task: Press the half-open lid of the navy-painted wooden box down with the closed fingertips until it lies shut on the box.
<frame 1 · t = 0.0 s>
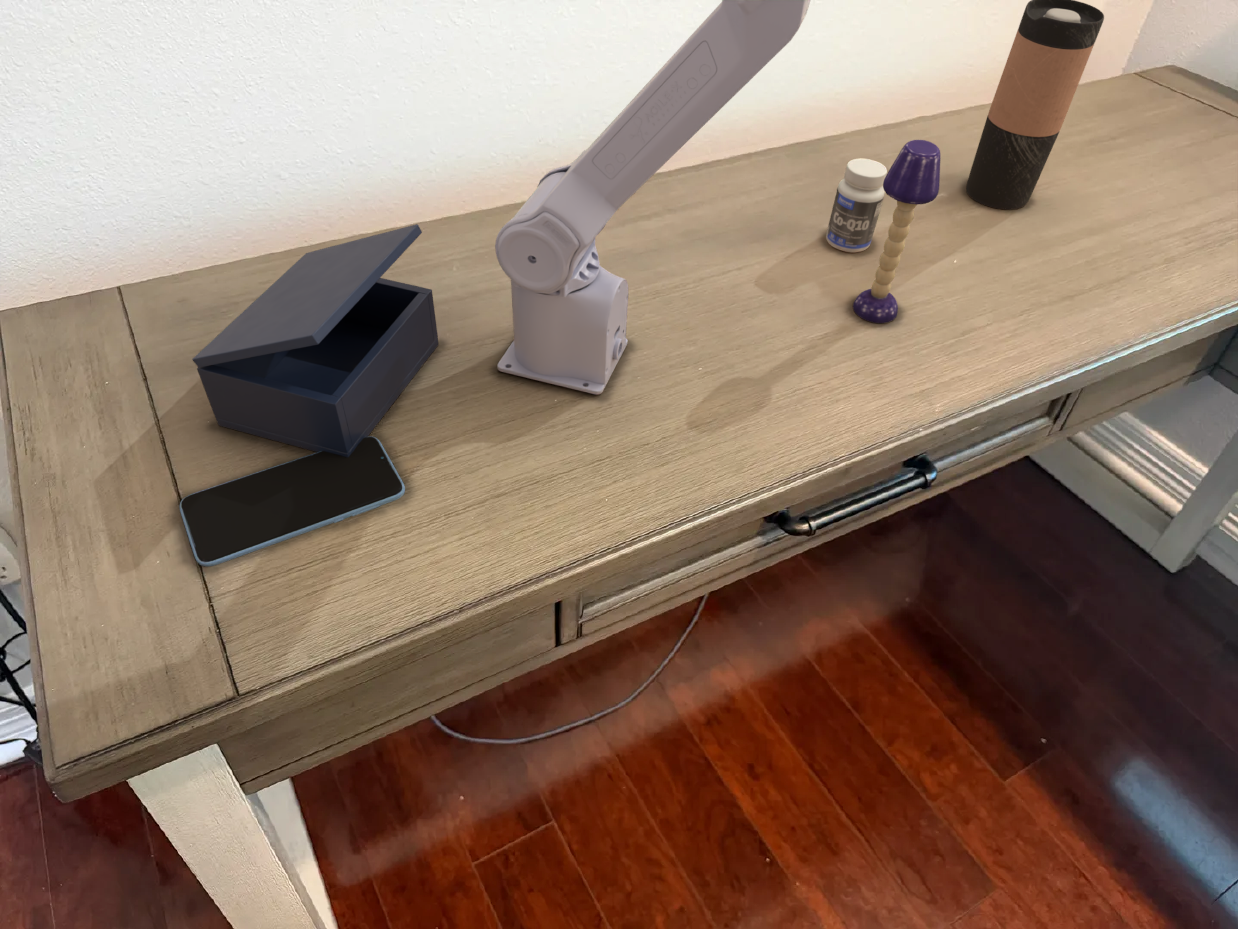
toy lamp: (872, 313, 85), on the table
travel mug: (996, 195, 103), on the table
smartphone: (296, 503, 66), on the table
lid: (311, 293, 68), point 9 cm above the table, hinge at 25.0°
pill bottle: (847, 243, 94), on the table
box: (334, 382, 75), on the table
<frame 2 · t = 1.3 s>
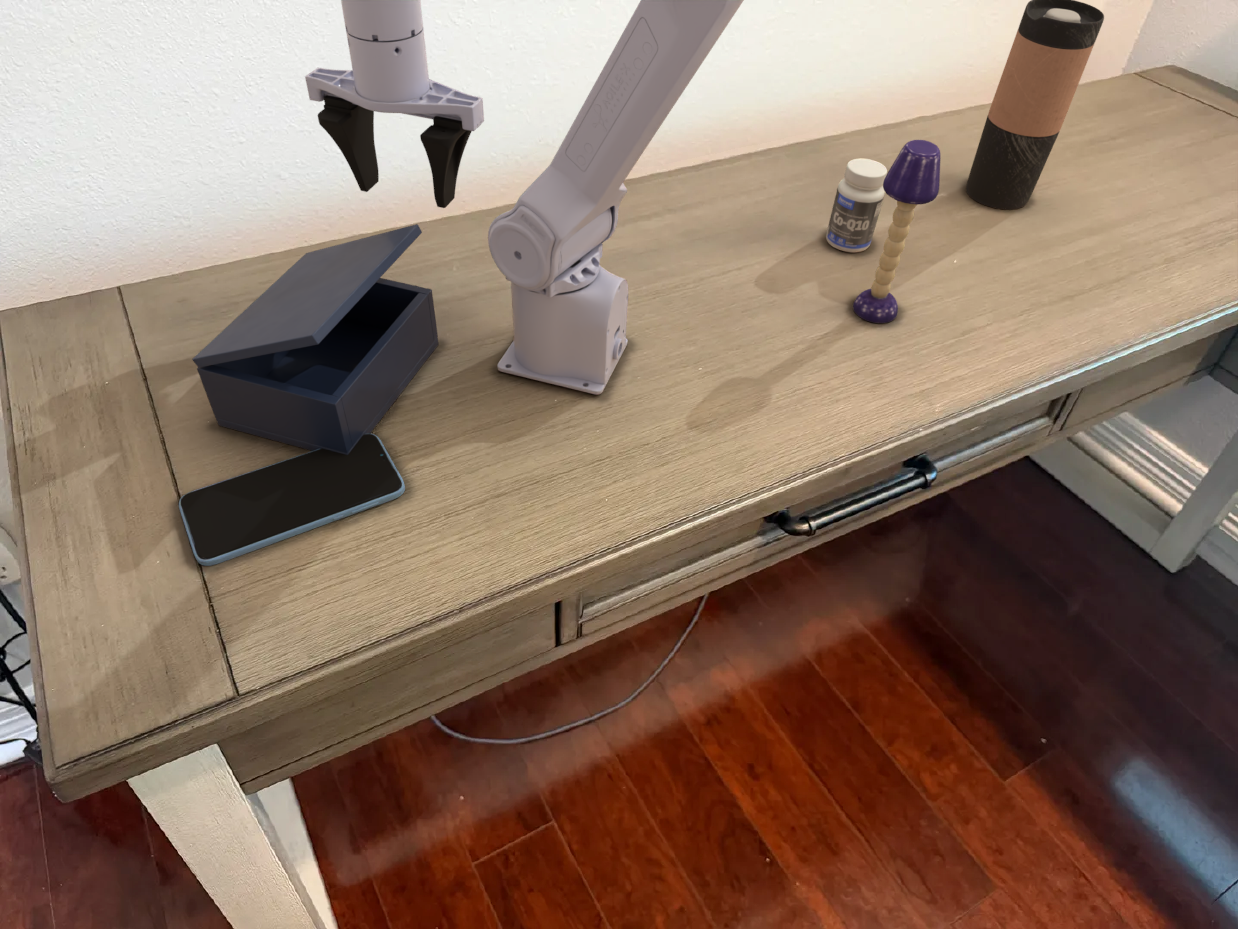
hand: (407, 194, 77), 10 cm above the table, tool pointing down, fingers open, 7 cm apart
smartphone: (295, 500, 66), on the table, touching box
everything else where it was.
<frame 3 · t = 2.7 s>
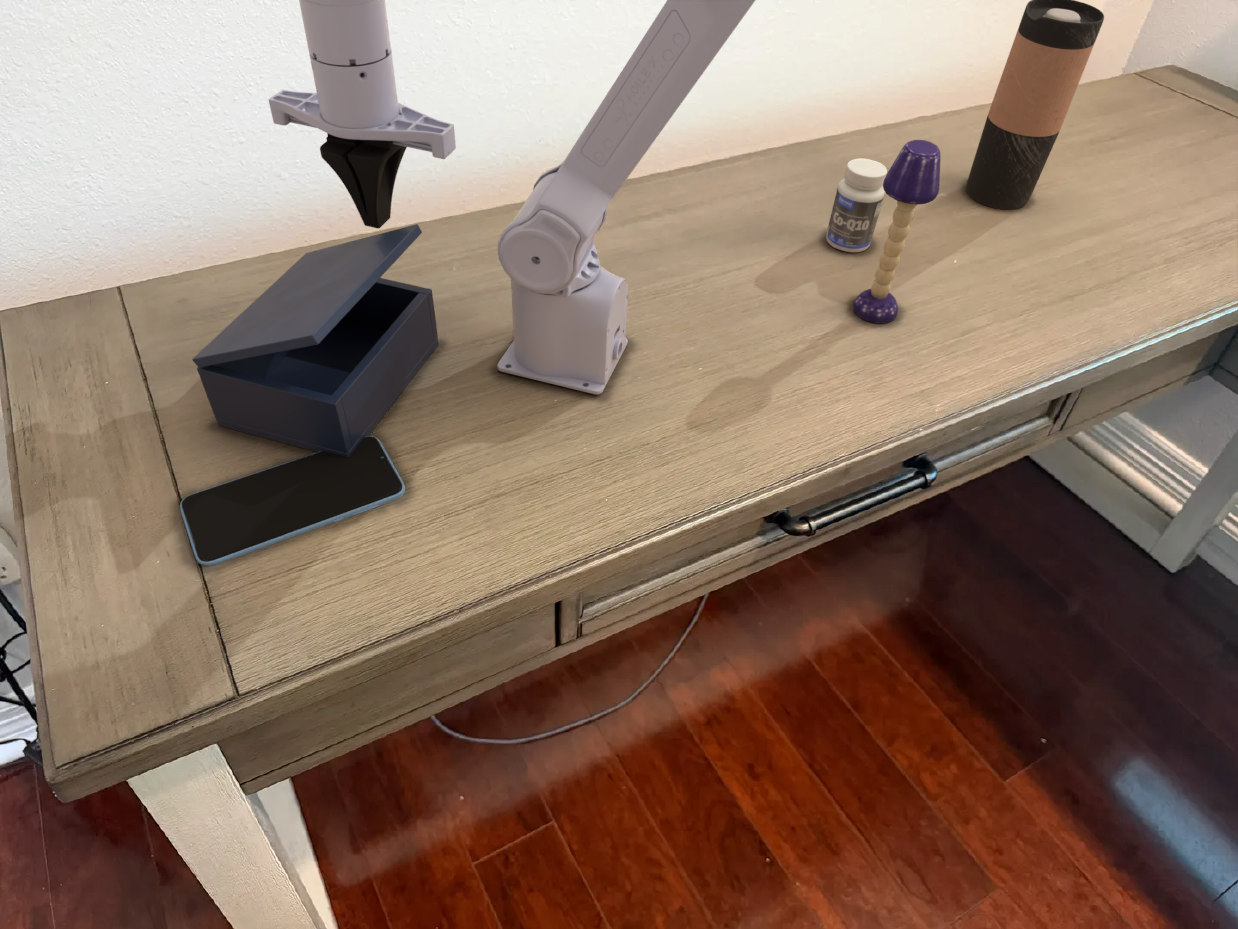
hand: (377, 221, 73), 10 cm above the table, tool pointing down, fingers closed
smartphone: (296, 503, 66), on the table
everything else where it was.
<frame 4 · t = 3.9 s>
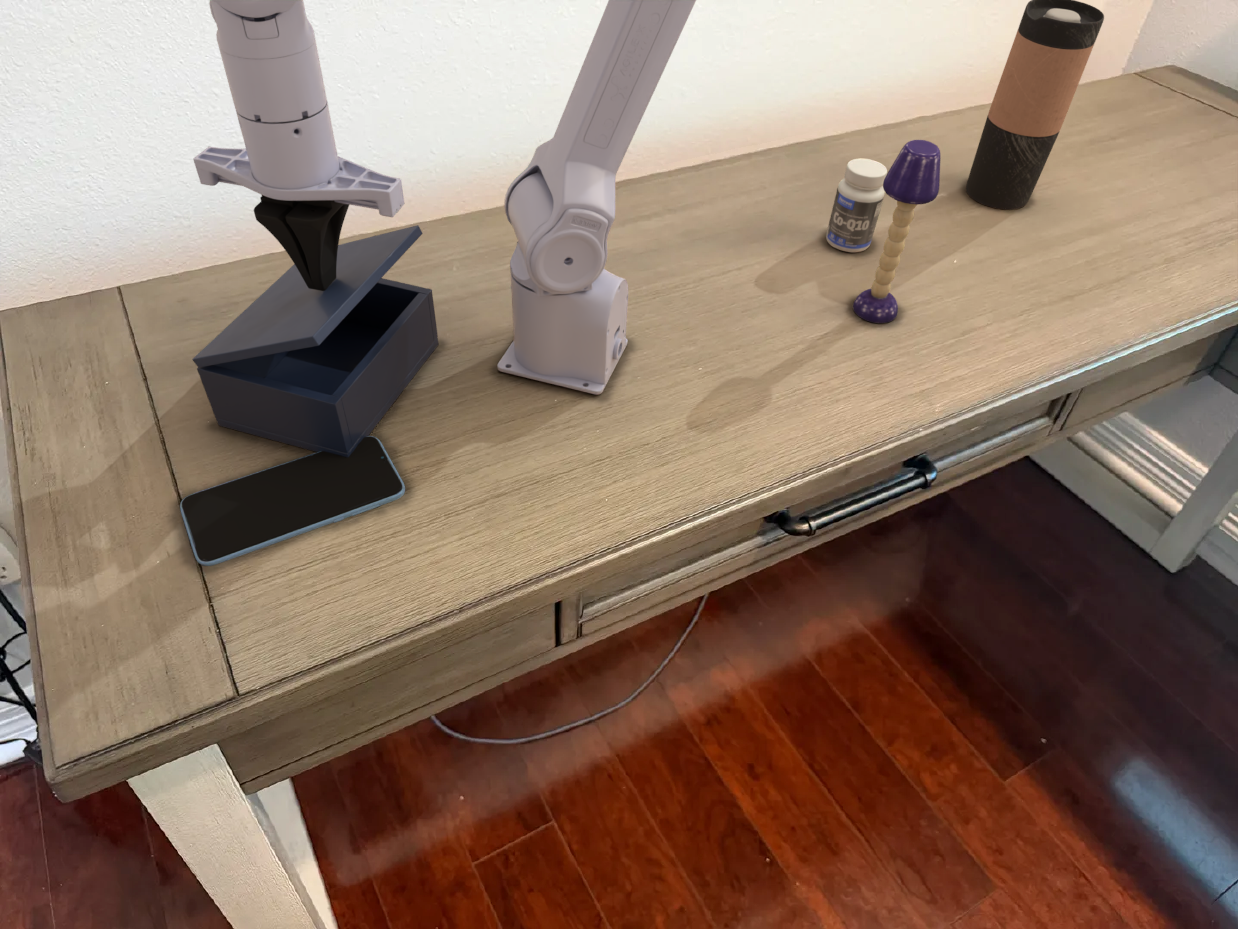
hand: (322, 282, 67), 10 cm above the table, tool pointing down, fingers closed
lid: (311, 293, 68), point 9 cm above the table, hinge at 24.5°, touching gripper
everything else where it was.
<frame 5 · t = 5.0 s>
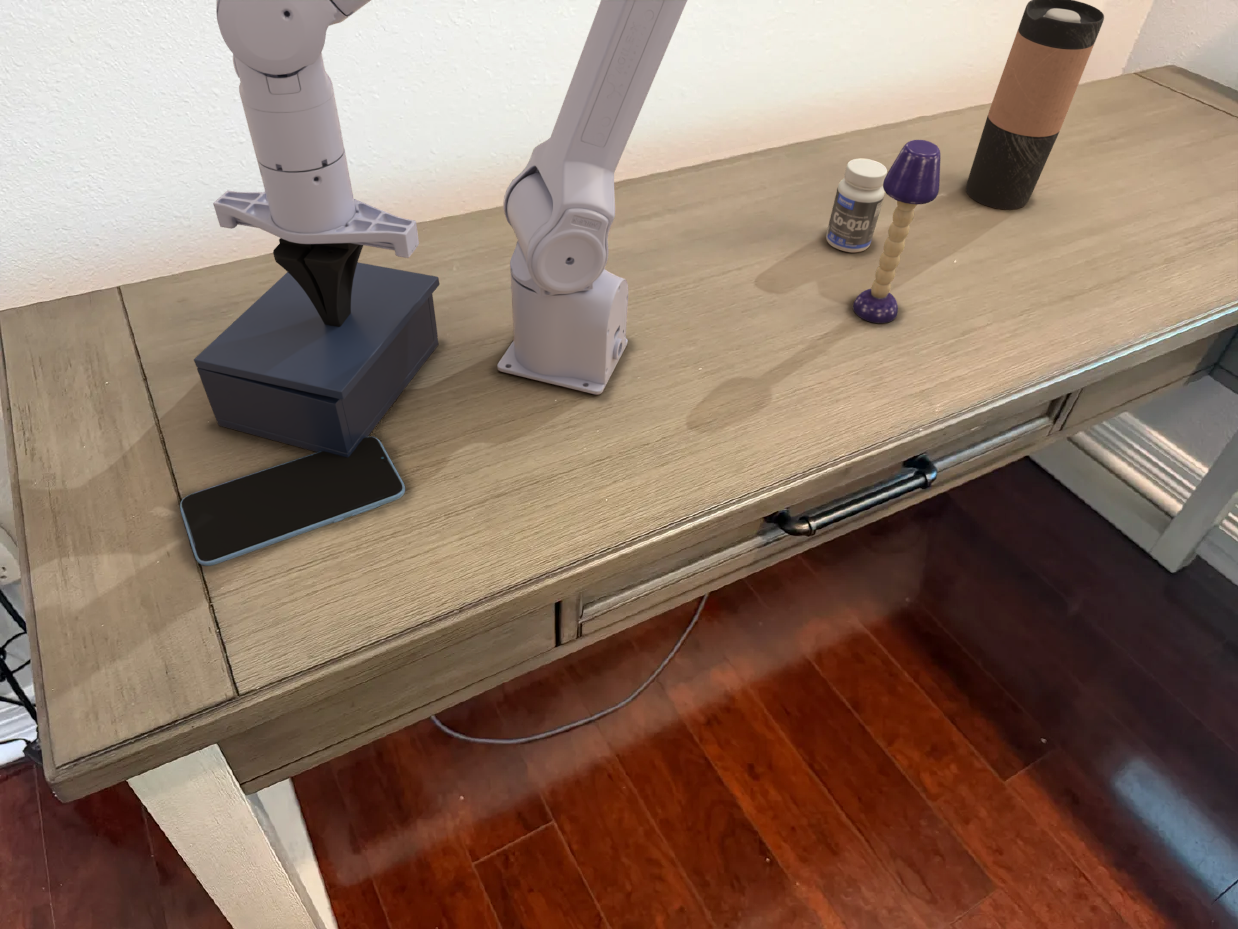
hand: (337, 318, 69), 7 cm above the table, tool pointing down, fingers closed
lid: (323, 319, 70), point 7 cm above the table, hinge at 2.8°, touching gripper
everything else where it was.
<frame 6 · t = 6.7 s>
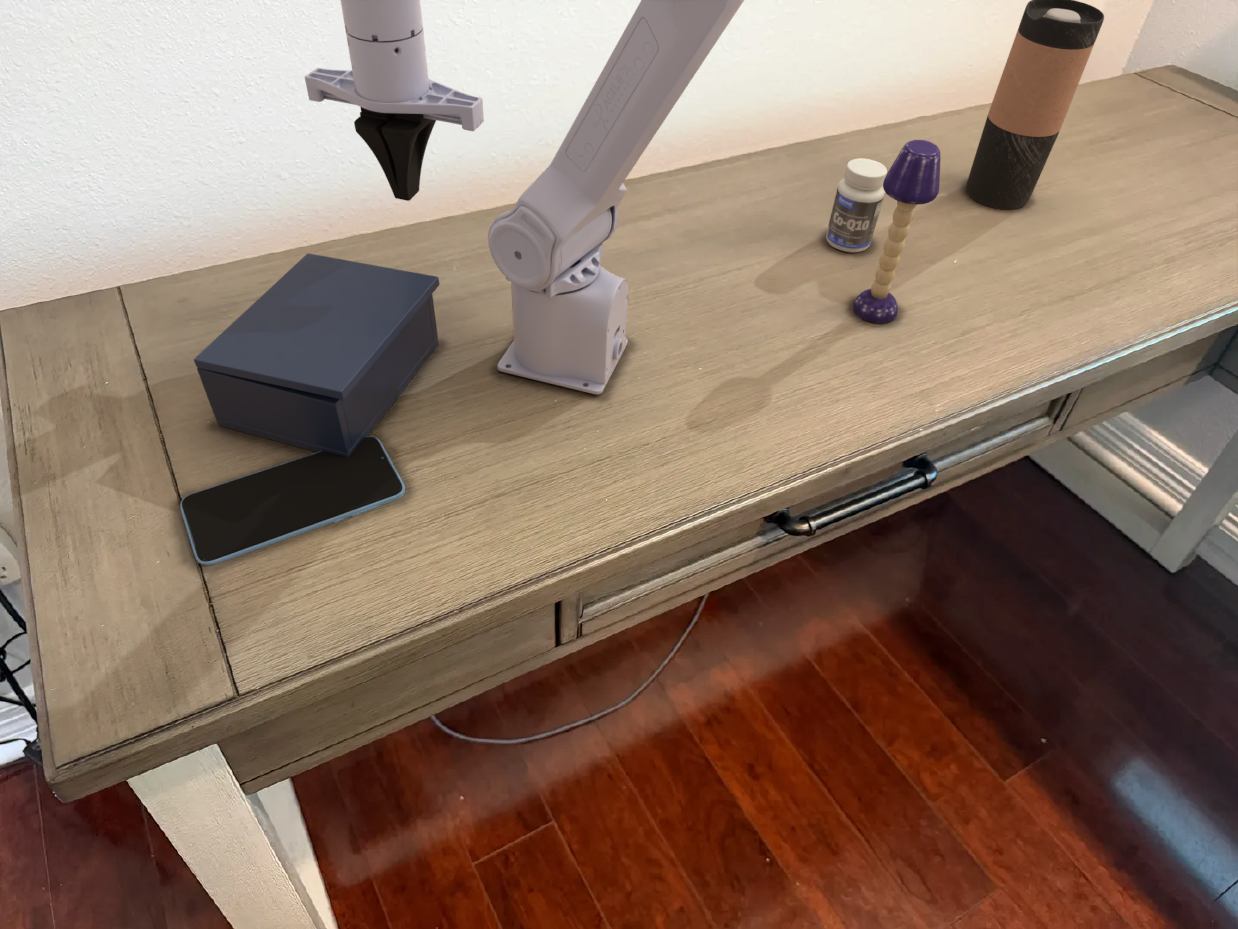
hand: (407, 194, 77), 10 cm above the table, tool pointing down, fingers closed
lid: (323, 319, 70), point 7 cm above the table, hinge at 2.8°
everything else where it was.
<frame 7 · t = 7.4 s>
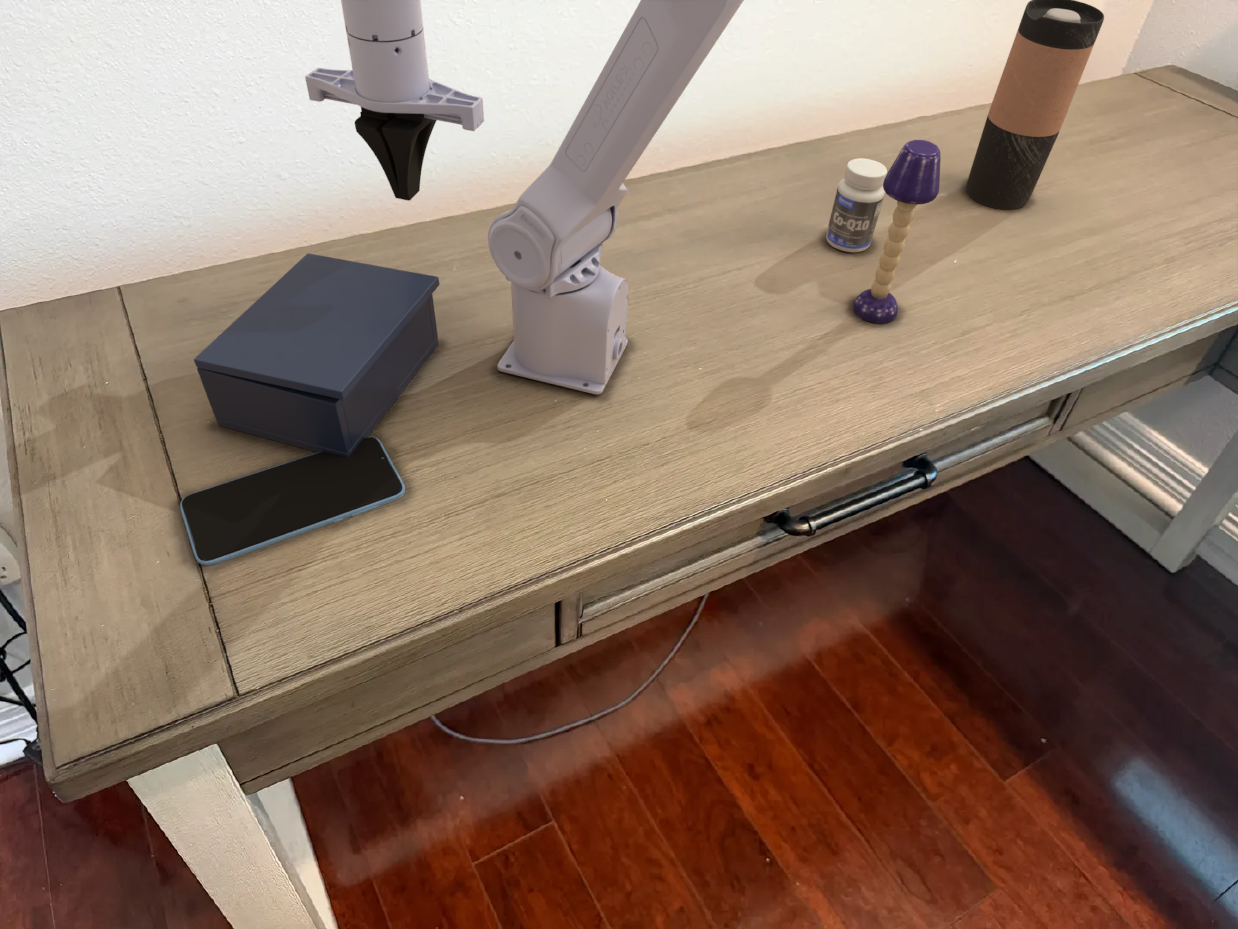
hand: (407, 194, 77), 10 cm above the table, tool pointing down, fingers closed
nothing on the table moved.
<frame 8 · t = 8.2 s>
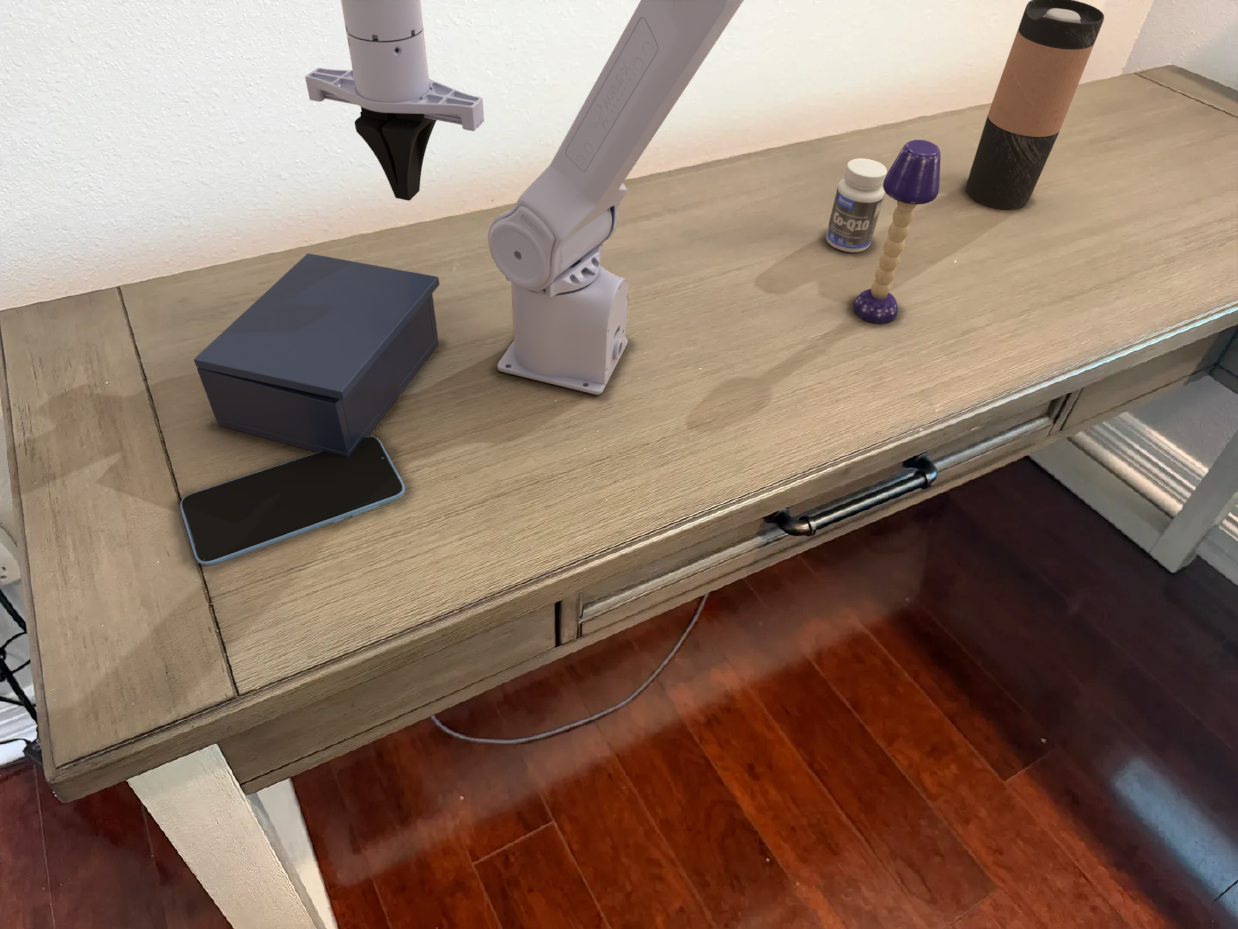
hand: (407, 194, 77), 10 cm above the table, tool pointing down, fingers closed
nothing on the table moved.
at the end: lid at +3° (first picture: +25°) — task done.
